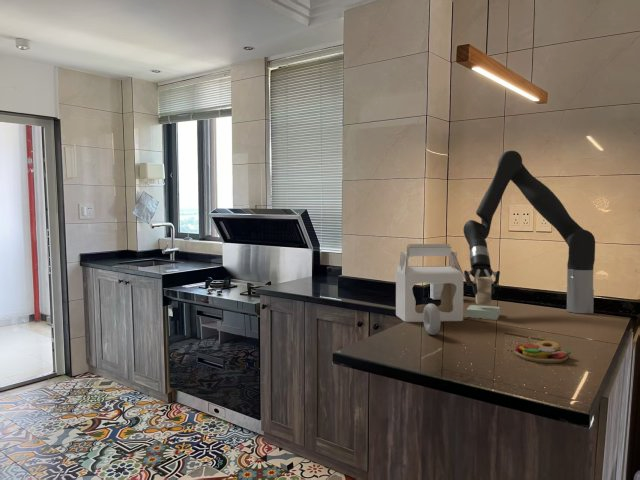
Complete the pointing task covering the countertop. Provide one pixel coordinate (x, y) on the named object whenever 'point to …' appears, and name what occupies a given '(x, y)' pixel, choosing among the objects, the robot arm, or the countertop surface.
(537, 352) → the toy food set
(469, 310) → the base slab
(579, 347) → the countertop surface
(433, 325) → the donut
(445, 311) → the gable box
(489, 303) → the maple block
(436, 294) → the supplement box
